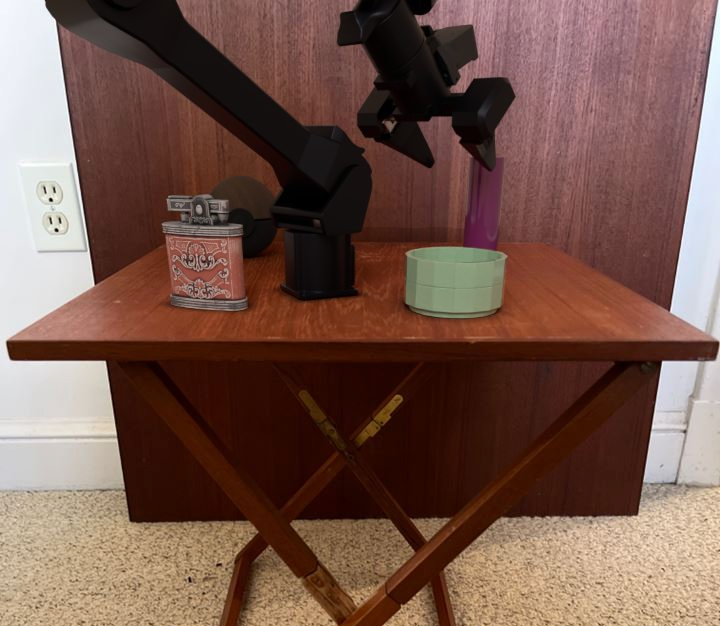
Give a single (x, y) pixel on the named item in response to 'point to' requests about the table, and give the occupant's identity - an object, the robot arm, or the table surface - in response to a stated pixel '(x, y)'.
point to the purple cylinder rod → (483, 204)
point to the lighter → (205, 255)
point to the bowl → (454, 281)
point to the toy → (248, 211)
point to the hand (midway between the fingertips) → (461, 166)
